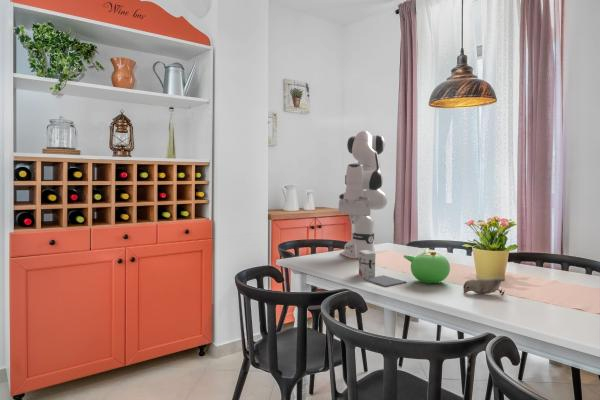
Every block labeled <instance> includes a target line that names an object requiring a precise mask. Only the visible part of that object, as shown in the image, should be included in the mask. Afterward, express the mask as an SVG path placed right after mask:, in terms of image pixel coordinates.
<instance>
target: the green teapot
mask: <svg viewBox="0 0 600 400" xmlns="http://www.w3.org/2000/svg"><path fill="white" fill-rule="evenodd" d="M403 258H404V259H406V260H407V261H409V262H410V271H411V274H412V275H413V277H414V278H415V279H416V280H418V281H419V282H421V283H425V284H437V283H440V282H442V281H444V280H446V278H448V276H449V274H450V272H451V265H450V263H449V261H448V259H447V258H446V257H445V255H442V254H441V253H439V252H436V251H430V250H429V248H425V249H424V251H423V253H420V254H418V255H410V254H404V255H403Z"/></svg>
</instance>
